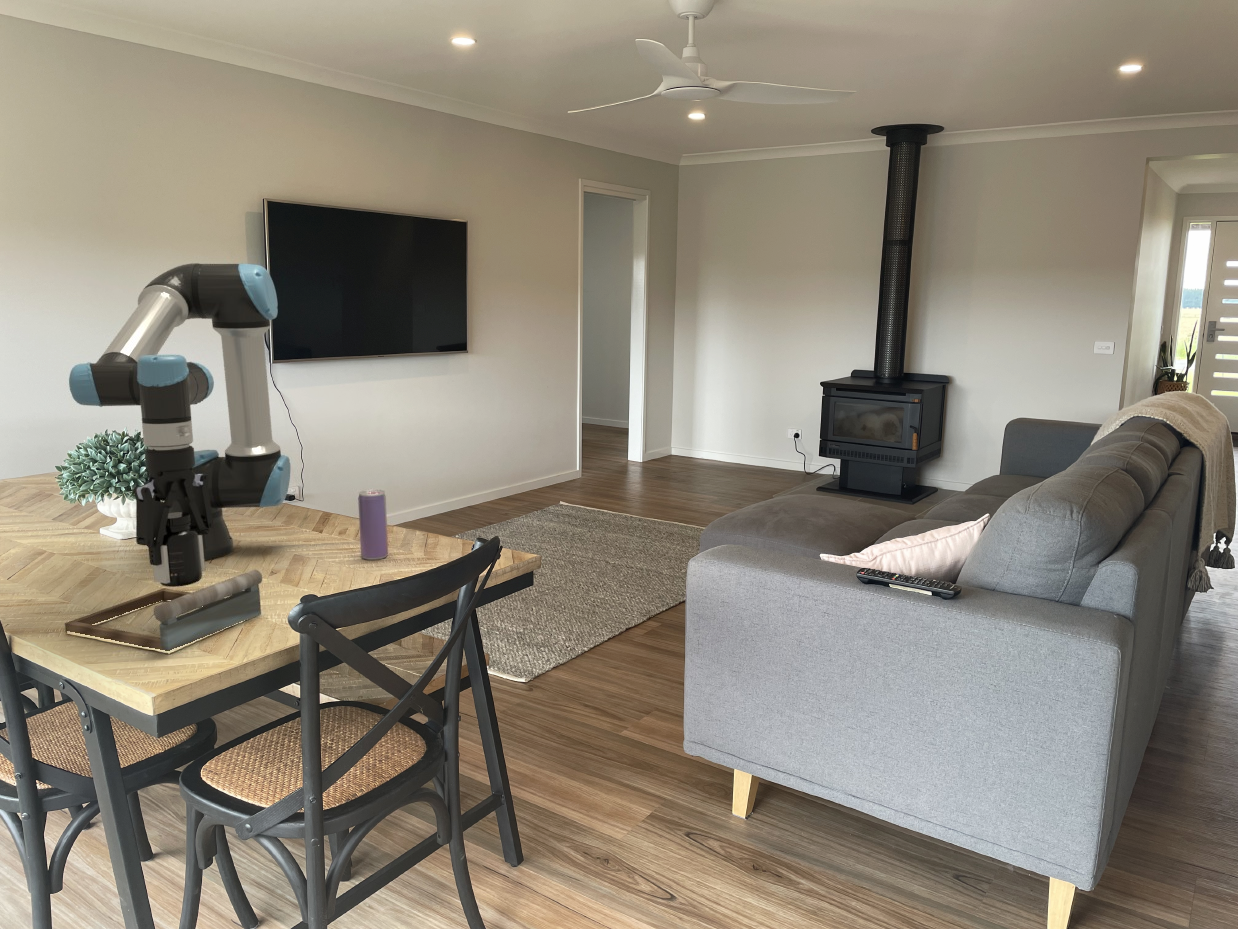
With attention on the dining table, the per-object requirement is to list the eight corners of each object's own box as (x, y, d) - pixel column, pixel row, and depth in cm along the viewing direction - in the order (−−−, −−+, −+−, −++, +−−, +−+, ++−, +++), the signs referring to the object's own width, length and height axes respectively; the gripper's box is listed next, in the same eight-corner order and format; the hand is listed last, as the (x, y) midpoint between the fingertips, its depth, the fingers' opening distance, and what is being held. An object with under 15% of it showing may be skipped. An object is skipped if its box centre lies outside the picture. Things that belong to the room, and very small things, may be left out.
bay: (64, 634, 152) (59, 588, 150) (166, 597, 171) (162, 555, 170) (170, 655, 143) (165, 606, 142) (264, 614, 162) (261, 570, 161)
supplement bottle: (168, 576, 157) (163, 510, 155) (208, 575, 158) (203, 510, 156) (152, 588, 150) (146, 519, 148) (193, 587, 151) (188, 519, 149)
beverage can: (380, 561, 196) (377, 495, 193) (356, 559, 197) (352, 494, 194) (392, 554, 201) (390, 490, 199) (368, 552, 203) (365, 488, 200)
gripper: (135, 456, 139) (148, 595, 143) (230, 439, 157) (239, 563, 162) (101, 453, 142) (114, 590, 146) (198, 437, 160) (208, 559, 164)
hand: (180, 575), depth 154 cm, fingers closed on supplement bottle, 7 cm apart
